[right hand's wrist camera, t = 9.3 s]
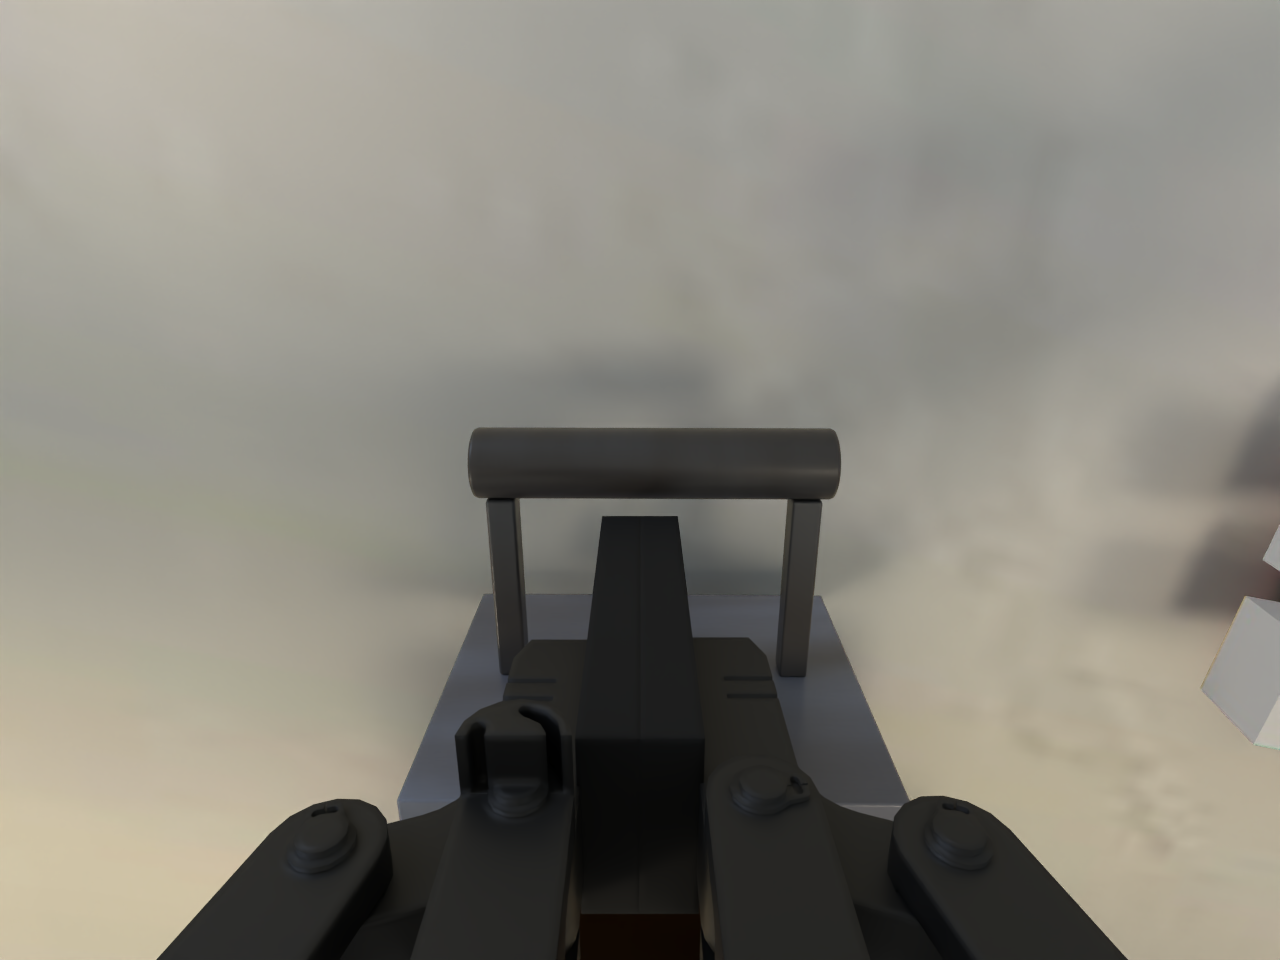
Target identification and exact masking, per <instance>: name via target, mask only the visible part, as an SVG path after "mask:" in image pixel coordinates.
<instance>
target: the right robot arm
mask: <svg viewBox="0 0 1280 960" xmlns="http://www.w3.org/2000/svg"><path fill="white" fill-rule="evenodd" d="M454 736H455V745H456V755H457V764H458V774H459V783H460V793H461V794H460V797H459V798H458V799H457V800H455V801H453V802H452V803H450V804H448V805H446V806H444V807H442V808H440V809H438V810H435V811H432V812H429V813H427V814H424V815H420V816H416V817H412V818H409V819H405V820H401V821H397V822H393V823H389V824H387V821H386V818H385V817H384V816H383V815H382V813H381V812H380V811H379V809H378V808H377V807H376V806H374V805H371V804H369V803H366V802H364V801H362V800H357V799H335V800H331V801H327V802H322V803H318V804H314V805H312V806H310V807H308V808H306V809H304V810H302V811H300V812H298V813H296V814H294V815H292V816H290V817H289V818H288V819H286V820H285V821H284V822H283V823H282V824H280V825H279V826H278V827H277V828H276V829H275V830H273V831H272V832H271V833H270V834H269V835H268V836H267V837H266V838H265V840H264V841H263V842H262V843H261V844H260V845H259V846H258V847H257V848H256V850H255V851H254V852H253V853H252V854H251V855H250V856H249V857H248V859H247V860H246V861H245V862H244V863H243V864H242V865H241V866H240V867H239V869H238V870H237V871H236V872H235V873H234V874H233V875H232V876H231V877H230V879H229V880H228V881H227V882H226V883H225V884H224V885H223V886H222V887H221V889H220V890H219V891H218V892H217V893H216V894H215V895H214V896H213V897H212V899H211V900H210V901H209V902H208V903H207V904H206V905H205V906H204V907H203V909H202V910H201V911H200V912H199V913H198V914H197V915H196V916H195V917H194V919H193V920H192V921H191V922H190V923H189V924H188V925H187V926H186V927H185V929H184V930H183V931H182V932H181V933H180V934H179V935H178V936H177V937H176V939H175V940H174V941H173V942H172V943H171V944H170V945H169V946H168V947H167V949H166V950H165V951H164V952H163V953H162V954H161V955H160V956H159V957H158V959H157V960H580V933H579V923H580V911H581V914H699V907H700V919H701V933H700V959H699V960H1128V959H1127V958H1126V957H1125V956H1124V955H1123V954H1122V953H1121V952H1120V951H1119V949H1118V948H1117V947H1116V946H1115V945H1114V944H1113V943H1112V942H1111V941H1110V940H1109V938H1108V937H1107V936H1106V935H1105V934H1104V933H1103V932H1102V931H1101V930H1100V928H1099V927H1098V926H1097V925H1096V924H1095V923H1094V922H1093V921H1092V920H1091V919H1090V917H1089V916H1088V915H1087V914H1086V913H1085V912H1084V911H1083V910H1082V909H1081V907H1080V906H1079V905H1078V904H1077V903H1076V902H1075V901H1074V900H1073V899H1072V898H1071V896H1070V895H1069V894H1068V893H1067V892H1066V891H1065V890H1064V889H1063V888H1062V886H1061V885H1060V884H1059V883H1058V882H1057V881H1056V880H1055V879H1054V878H1053V877H1052V875H1051V874H1050V873H1049V872H1048V871H1047V870H1046V869H1045V868H1044V867H1043V865H1042V864H1041V863H1040V862H1039V861H1038V860H1037V859H1036V858H1035V857H1034V856H1033V854H1032V853H1031V852H1030V851H1029V850H1028V849H1027V848H1026V847H1025V846H1024V845H1023V843H1022V842H1021V841H1020V840H1019V839H1018V838H1017V837H1016V836H1015V835H1014V833H1013V832H1012V831H1011V830H1010V829H1009V828H1007V827H1006V826H1005V825H1004V824H1003V823H1002V822H1000V821H999V820H998V819H997V818H996V817H994V816H993V815H992V814H991V813H989V812H987V811H985V810H983V809H981V808H979V807H977V806H975V805H973V804H971V803H969V802H967V801H962V800H958V799H954V798H950V797H946V796H923V797H919V798H916V799H914V800H912V801H909V802H907V803H904V804H903V806H902V807H901V808H900V810H899V811H898V812H897V813H896V815H895V816H894V821H891V820H887V819H883V818H879V817H875V816H871V815H867V814H863V813H859V812H856V811H853V810H850V809H847V808H845V807H842V806H839V805H838V804H836V803H834V802H832V801H830V800H828V799H827V798H825V797H824V796H822V795H821V794H820V793H819V791H818V790H817V788H816V786H815V784H814V783H813V781H812V779H811V777H810V776H808V775H807V774H806V773H805V772H803V771H802V770H801V769H800V768H799V767H798V765H797V761H796V758H795V754H794V751H793V747H792V744H791V740H790V737H789V733H788V729H787V726H786V722H785V719H784V715H783V712H782V708H781V705H780V701H779V698H777V691H776V687H775V684H774V681H773V680H772V673H771V670H770V666H769V663H768V659H767V656H766V654H765V653H764V652H763V651H762V650H761V649H760V648H759V647H758V646H757V645H756V644H755V643H754V642H753V641H752V640H751V639H750V638H749V637H693V636H692V628H691V620H690V612H689V604H688V596H687V588H686V580H685V572H684V564H683V556H682V547H681V539H680V531H679V523H678V516H602V523H601V531H600V539H599V547H598V556H597V564H596V572H595V580H594V588H593V596H592V604H591V612H590V620H589V628H588V636H587V640H531V641H530V642H529V643H528V644H527V645H526V646H525V647H524V648H523V649H522V650H521V651H520V652H519V653H518V654H517V655H516V656H515V657H514V659H513V662H512V666H511V669H510V673H509V676H508V683H506V687H505V690H504V694H503V701H501V702H498V703H495V704H492V705H490V706H487V707H484V708H482V709H480V710H478V711H477V712H475V713H474V714H473V715H471V716H470V717H469V718H467V719H466V720H464V722H463V723H462V725H461V726H460V728H459V729H458V731H457V732H456V734H455V735H454Z"/></svg>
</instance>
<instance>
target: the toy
mask: <svg viewBox="0 0 1280 960" xmlns="http://www.w3.org/2000/svg"><path fill="white" fill-rule="evenodd" d="M1263 560H1264V561H1265V562H1267V563H1268V564H1270V565H1271V566H1273V567H1274V568H1276V569H1277V570H1279V571H1280V525H1279V527H1278V529H1277V531H1276V533H1275V535H1274V537H1273V539H1272V541H1271V543H1270V545H1269V547H1268V549H1267V551H1266V553H1265V556H1264V558H1263ZM1200 689H1201V690H1202V691H1203V692H1204V693H1205V694H1206V695H1207V697H1208V698H1209V699H1210V700H1211V701H1212V702H1213V703H1214V704H1215V705H1216V706H1217V707H1218V708H1219V709H1220V710H1221V711H1222V712H1223V713H1224V714H1225V715H1226V717H1227V718H1228V719H1229V720H1230V721H1231V722H1232V723H1233V724H1234V725H1235V726H1236V727H1237V728H1238V729H1239V730H1240V731H1241V732H1242V733H1243V734H1244V735H1245V737H1246V738H1247V739H1248V740H1249V741H1250V742H1251V743H1252V744H1253V745H1257V746H1262V747H1267V748H1272V749H1277V750H1280V602H1276V601H1271V600H1265V599H1260V598H1255V597H1250V596H1245V597H1244V599H1243V601H1242V603H1241V605H1240V607H1239V609H1238V611H1237V613H1236V615H1235V617H1234V619H1233V622H1232V624H1231V626H1230V628H1229V630H1228V632H1227V634H1226V636H1225V638H1224V640H1223V642H1222V644H1221V646H1220V648H1219V650H1218V652H1217V655H1216V657H1215V659H1214V661H1213V663H1212V665H1211V667H1210V669H1209V671H1208V673H1207V675H1206V677H1205V679H1204V681H1203V683H1202V685H1201V687H1200Z"/></svg>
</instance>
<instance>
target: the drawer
mask: <svg viewBox="0 0 1280 960" xmlns="http://www.w3.org/2000/svg"><path fill="white" fill-rule="evenodd" d="M840 474H841V452H840V445H839V440H838V437H837V434H836V432H835V431H834V430H832V429H801V428H477V429H475V430H474V431H473V433H472V436H471V439H470V443H469V449H468V476H469V482H470V487H471V490H472V493H473V494H474V496H475V497H478V498H488V499H487V501H486V511H487V523H488V536H489V548H490V560H491V573H492V585H493V594H484V595H483V597H482V600H481V602H480V604H479V607H478V609H477V611H476V614H475V616H474V619H473V621H472V623H471V626H470V628H469V630H468V633H467V635H466V638H465V640H464V642H463V645H462V647H461V649H460V652H459V654H458V657H457V659H456V661H455V664H454V666H453V668H452V671H451V673H450V676H449V678H448V680H447V683H446V685H445V688H444V690H443V692H442V695H441V697H440V699H439V702H438V704H437V707H436V709H435V711H434V714H433V716H432V718H431V721H430V723H429V726H428V728H427V730H426V733H425V735H424V737H423V740H422V742H421V745H420V747H419V749H418V752H417V754H416V756H415V759H414V761H413V764H412V766H411V768H410V771H409V773H408V776H407V778H406V780H405V783H404V785H403V787H402V790H401V792H400V795H399V797H398V799H397V804H398V811H399V817H400V821H401V820H405V819H409V818H412V817H416V816H420V815H424V814H427V813H429V812H432V811H435V810H438V809H440V808H442V807H444V806H446V805H448V804H450V803H452V802H453V801H455V800H457V799H458V798H459V797H460V794H461V793H460V783H459V774H458V764H457V755H456V745H455V736H454V735H455V734H456V732H457V731H458V729H459V728H460V726H461V725H462V723H463V722H464V720H466V719H467V718H469V717H470V716H471V715H473V714H474V713H475V712H477V711H478V710H480V709H482V708H484V707H487V706H490V705H492V704H495V703H498V702H501V701H503V694H504V690H505V687H506V683H508V676H509V673H510V669H511V666H512V662H513V659H514V657H515V656H516V655H517V654H518V653H519V652H520V651H521V650H522V649H523V648H524V647H525V646H526V645H527V644H528V643H529V642H530V641H531V640H587V636H588V628H589V620H590V612H591V604H592V596H593V594H525V581H524V565H523V549H522V534H521V518H520V502H519V498H605V499H788V503H787V516H786V529H785V542H784V555H783V568H782V582H781V595H687V596H688V604H689V612H690V620H691V628H692V636H693V637H749V638H750V639H751V640H752V641H753V642H754V643H755V644H756V645H757V646H758V647H759V648H760V649H761V650H762V651H763V652H764V653H765V654H766V656H767V659H768V663H769V666H770V670H771V673H772V680H773V681H774V684H775V687H776V691H777V698H779V701H780V705H781V708H782V712H783V715H784V719H785V722H786V726H787V729H788V733H789V737H790V740H791V744H792V747H793V751H794V754H795V758H796V761H797V765H798V767H799V768H800V769H801V770H802V771H803V772H805V773H806V774H807V775H808V776H810V777H811V779H812V781H813V783H814V784H815V786H816V788H817V790H818V791H819V793H820V794H821V795H822V796H824V797H825V798H827V799H828V800H830V801H832V802H834V803H836V804H838V805H839V806H842V807H845V808H847V809H850V810H853V811H856V812H859V813H863V814H867V815H871V816H875V817H879V818H883V819H887V820H891V821H894V816H895V815H896V813H897V812H898V811H899V810H900V808H901V807H902V806H903V804H904V803H907V802H909V801H910V800H909V798H908V796H907V793H906V791H905V789H904V786H903V784H902V782H901V779H900V777H899V775H898V773H897V770H896V768H895V766H894V763H893V761H892V759H891V756H890V754H889V752H888V750H887V747H886V745H885V743H884V740H883V738H882V736H881V733H880V731H879V729H878V726H877V724H876V722H875V720H874V717H873V715H872V713H871V710H870V708H869V706H868V703H867V701H866V699H865V697H864V694H863V692H862V690H861V687H860V685H859V683H858V680H857V678H856V676H855V673H854V671H853V669H852V667H851V664H850V662H849V660H848V657H847V655H846V653H845V650H844V648H843V646H842V644H841V641H840V639H839V637H838V634H837V632H836V630H835V627H834V625H833V623H832V620H831V618H830V616H829V614H828V611H827V609H826V607H825V604H824V602H823V600H822V597H821V596H814V586H815V576H816V565H817V554H818V544H819V533H820V523H821V512H822V502H821V500H820V499H831V498H833V497H834V496H835V495H836V492H837V489H838V486H839V481H840ZM579 933H580V960H699V959H700V933H701V919H700V907H699V914H581V911H580V923H579Z"/></svg>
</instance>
